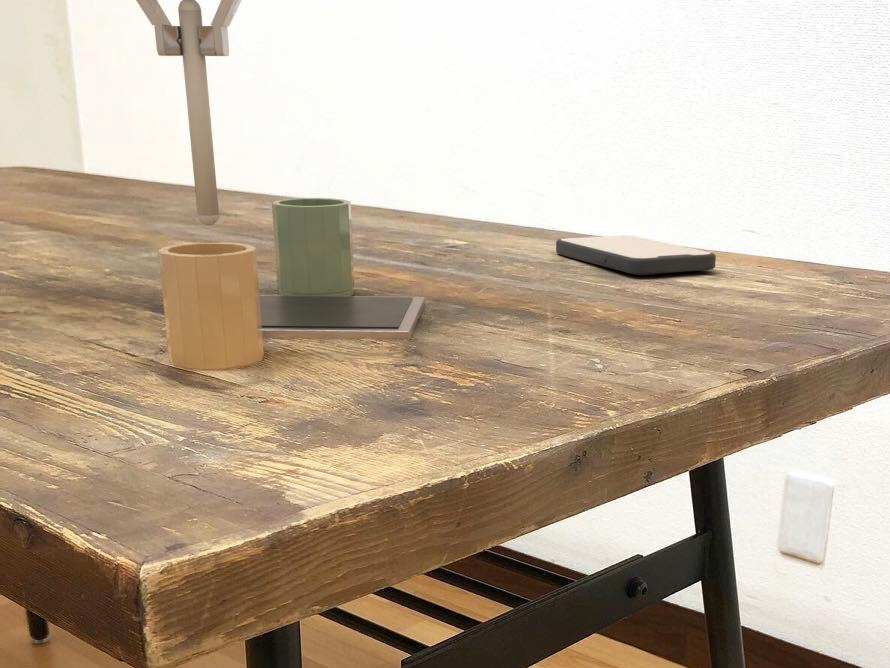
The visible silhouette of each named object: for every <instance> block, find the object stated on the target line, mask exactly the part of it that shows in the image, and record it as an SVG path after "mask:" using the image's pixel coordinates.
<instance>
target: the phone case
mask: <svg viewBox="0 0 890 668" xmlns="http://www.w3.org/2000/svg"><path fill="white" fill-rule="evenodd" d="M555 253H556V254H557V255H560V256H564V257H568V258H571V259H575V260H578V261H583V262H586V263H589V264H594V265H598V266H601V267H605V268H607V269H612V270H616V271H620V272H622V273H627V274H630V275H634V276H639V277H644V276H651V275H664V274H669V273H670V274H671V273H684V272H698V271H711V270H714V269H715V268H716V261H717V256H716V254H715V253H713V252H709V251H705V250H701V249H696V248H692V247H687V246H681V245H678V244H673V243H669V242H665V241H659V240H654V239H650V238H645V237H640V236H635V235H626V234H625V235H605V236H603V235H602V236H587V237H586V236H585V237H567V238H559V239H557V240H556V242H555Z"/></svg>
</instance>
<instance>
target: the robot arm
mask: <svg viewBox="0 0 890 668" xmlns="http://www.w3.org/2000/svg"><path fill="white" fill-rule="evenodd" d="M135 1H136V2H137V4H138V6H139V7H140V9H141V11H142V12H143V13H144V15H145V16H146V18H147V20H148V21H149V22H150V24H151V25H152V26H153V28H154V34H155V35H154V36H155V46H156V52H157V55H158V56H159V57H183V54H182V44H181V33H180V25H172V23H171V21H170V20H169V17H168V16H167V15H166V13H165V11H164V9H163V8H162V6H161V5H160V3H159V1H158V0H135ZM241 2H242V0H220V2H219V4H218V7H217V8H216V12H215V14H214V16H213V19H212V21H211V23H210V25H202V26H198V32H199V38H200V39H201V43H200V52H201V55H202V56H205V57H229V56H230V42H229V29H228V27H230V25H231V23H232V21H233V19H234V17H235V15H236V12H237V11H238V8H239V6H240V4H241Z"/></svg>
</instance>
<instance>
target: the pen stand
mask: <svg viewBox="0 0 890 668" xmlns="http://www.w3.org/2000/svg"><path fill="white" fill-rule="evenodd" d="M157 253H158V263H159V264H158V265H159V275H160V284H161V290H162V291H161V292H162V301H163V302H162V303H163V312H164V323H165V326H166V333H167V337H166V341H167V342H166V343H167V352H168V360H169V361H170V364H171V365H172V366H173V367H177V368H180V369H183V370H184V369H185V370H194V371H222V370H233V369H239V368H245V367H250V366H253V365H256V364H259V363H260V362H261V361H262V360H263V359H264V356H265V355H264V342H263V341H264V338H262V325H261V312H260V298H259V295H260V286H259V274H258V272H259V271H258V261H257V259H258V257H257V248H256V247H255V246H254V245H251V244H246V243H240V242H228V241H227V242H226V241H205V242H201V241H200V242H187V243H178V244H172V245H166V246H163V247H161V248H160V249H158V250H157Z"/></svg>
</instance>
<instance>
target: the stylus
mask: <svg viewBox="0 0 890 668" xmlns="http://www.w3.org/2000/svg"><path fill="white" fill-rule="evenodd" d="M177 11H178V12H177V13H178V23H179V26H180V33H181V44H182V54H183V56H182V67H183V75H184V87H185V97H186V98H185V99H186V107H187V118H188V128H189V139H190V150H191V162H192V171H193V173H192V174H193V182H194V183H193V184H194V192H195V204H196V216H197V218H198V220H199V222H200V223H201V224H202V225H205V226H212V225H213V226H214V225H215V224H216V223H217V222H218V220H219V218H220V209H219V198H218V187H217V178H216V177H217V176H216V175H217V174H216V165H215V153H214V152H215V151H214V141H213V140H214V139H213V131H212V119H211V108H210V95H209V85H208V73H207V62H206V61H207V60H206V56H202V55H201V52H200V43H201V39H200V38H199V32H198V26H203V17H202V8H201V5H200V3H199V2H198V1H197V0H181V1H180V2H179V4H178V8H177Z"/></svg>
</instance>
